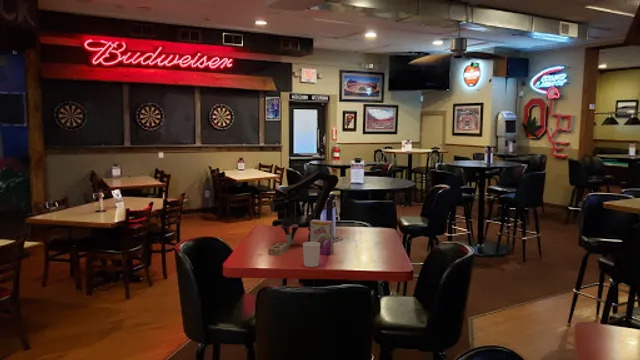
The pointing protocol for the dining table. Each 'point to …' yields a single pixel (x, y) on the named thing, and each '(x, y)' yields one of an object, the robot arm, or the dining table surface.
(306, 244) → the white cup
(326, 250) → the candy bar box
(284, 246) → the brown block with holes
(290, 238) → the clip
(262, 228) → the dining table surface
